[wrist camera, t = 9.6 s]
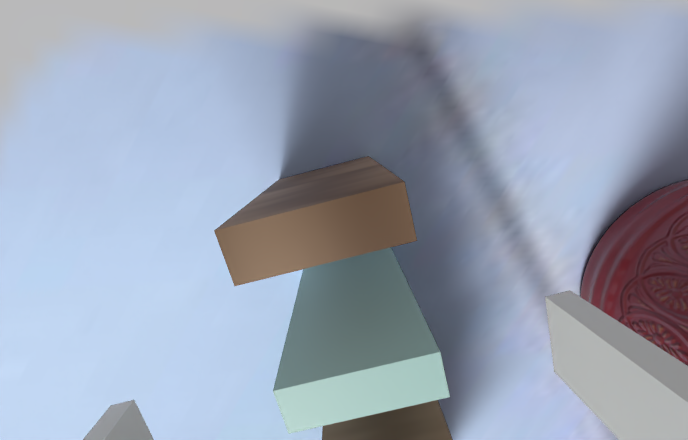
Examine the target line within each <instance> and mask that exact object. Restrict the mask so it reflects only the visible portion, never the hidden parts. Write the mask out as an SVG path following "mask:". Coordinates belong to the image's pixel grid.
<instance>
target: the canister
mask: <svg viewBox="0 0 688 440" xmlns="http://www.w3.org/2000/svg"><path fill="white" fill-rule="evenodd" d="M581 298H582V299H584V300H586V301H587V302H589V303H590V304H592V305H593V306H595V307H597V308H598V309H600V310H601V311H603V312H604V313H606V314H607V315H609V316H611V317H612V318H614V319H615V320H617V321H618V322H620V323H621V324H623V325H625V326H626V327H628V328H629V329H631V330H632V331H634V332H636V333H637V334H639V335H640V336H642V337H643V338H645V339H646V340H648V341H650V342H651V343H653V344H654V345H656V346H657V347H659V348H660V349H662V350H664V351H665V352H667V353H668V354H670V355H671V356H673V357H675V358H676V359H678V360H679V361H681V362H682V363H684V364H685V365H687V366H688V180H684V181H680V182H677V183H674V184H671V185H669V186H666V187H664V188H661V189H659V190H657V191H655V192H653V193H651V194H650V195H648V196H646V197H644V198H643V199H641V200H640V201H638V202H637V203H636V204H634V205H633V206H632V207H630V208H629V209H628V210H627V211H626V212H624V213H623V214H622V215H621V216H620V217H619V218H618V219H617V220H616V221H615V222H614V223H613V224H612V225H611V226H610V228H609V229H608V230H607V231H606V232H605V234H604V235H603V236H602V238H601V239H600V241H599V242H598V244H597V246H596V247H595V249H594V251H593V253H592V255H591V257H590V259H589V261H588V264H587V266H586V270H585V273H584V276H583V281H582V287H581Z"/></svg>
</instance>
